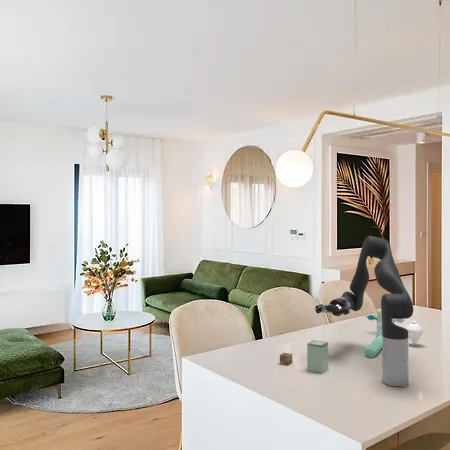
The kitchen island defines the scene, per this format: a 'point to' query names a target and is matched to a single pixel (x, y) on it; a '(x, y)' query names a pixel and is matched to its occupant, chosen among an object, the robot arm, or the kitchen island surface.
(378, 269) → the robot arm
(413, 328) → the spinning top
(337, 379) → the kitchen island surface
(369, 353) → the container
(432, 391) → the kitchen island surface
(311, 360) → the tall sage green box
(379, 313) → the character sculpture
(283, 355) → the walnut block
